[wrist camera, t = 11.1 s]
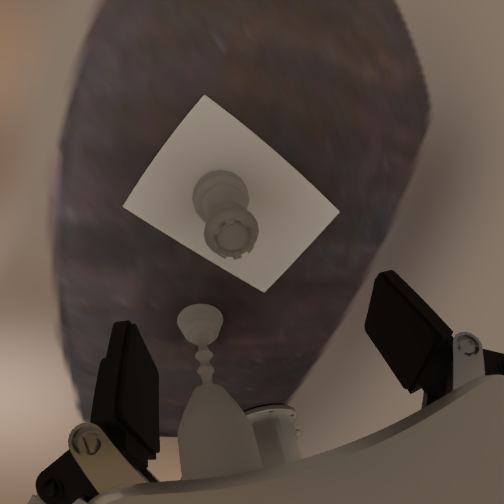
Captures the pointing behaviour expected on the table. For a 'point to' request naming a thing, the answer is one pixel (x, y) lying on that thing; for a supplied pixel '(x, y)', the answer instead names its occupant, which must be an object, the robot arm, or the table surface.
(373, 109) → the table surface
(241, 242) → the rook chess piece
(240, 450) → the chalice
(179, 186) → the grey mat
